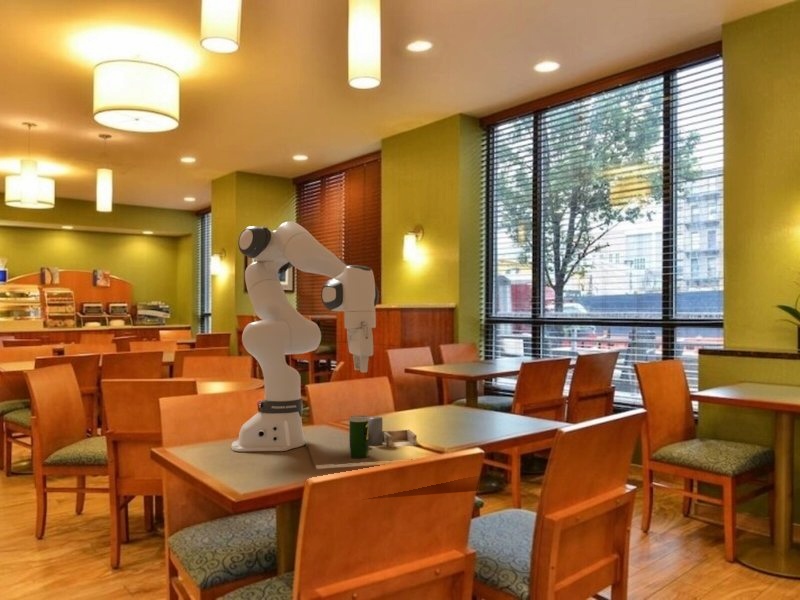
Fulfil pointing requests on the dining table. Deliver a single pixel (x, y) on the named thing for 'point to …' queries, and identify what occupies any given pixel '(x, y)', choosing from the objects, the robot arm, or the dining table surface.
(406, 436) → the comb rack
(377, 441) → the grey upright block
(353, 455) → the beer can
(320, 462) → the dining table surface
